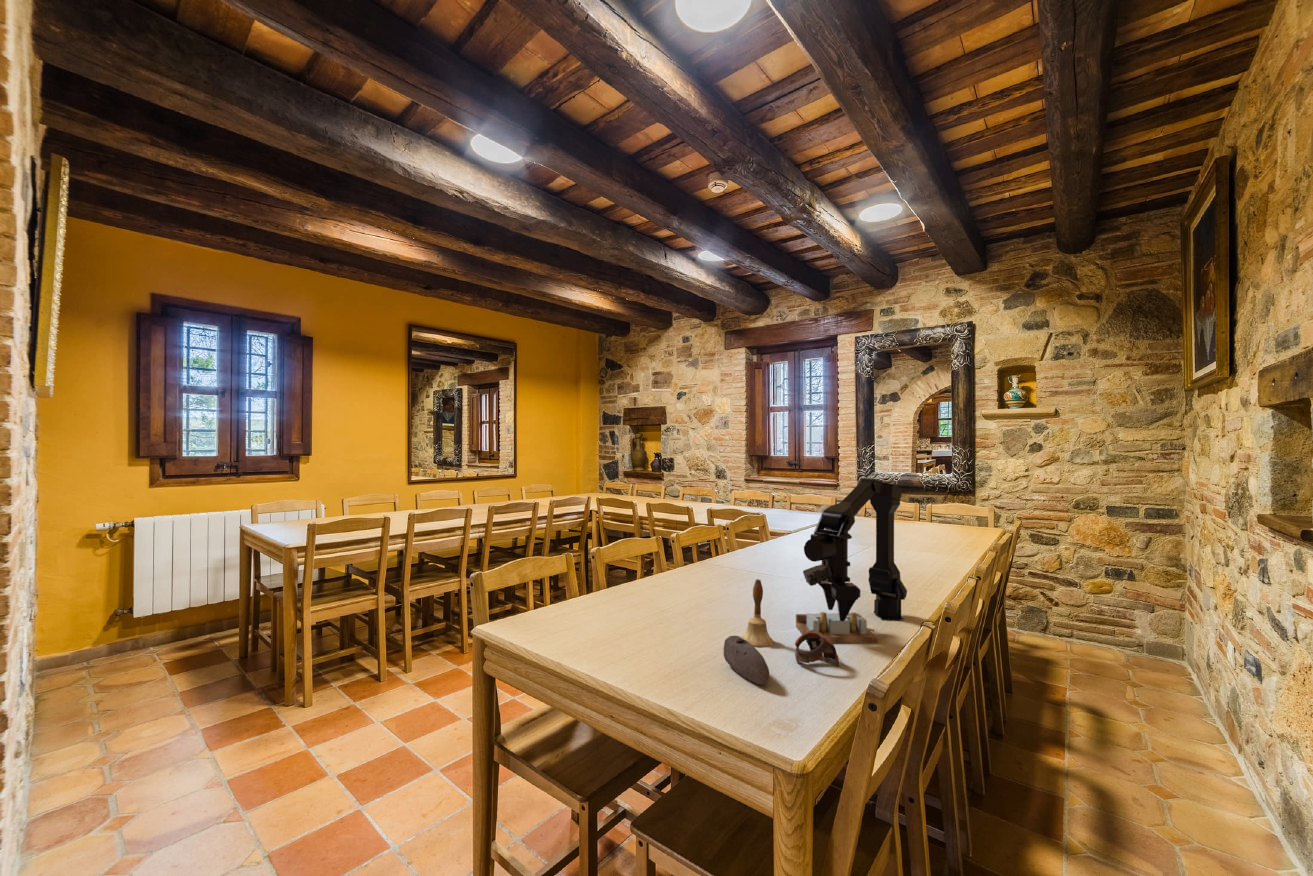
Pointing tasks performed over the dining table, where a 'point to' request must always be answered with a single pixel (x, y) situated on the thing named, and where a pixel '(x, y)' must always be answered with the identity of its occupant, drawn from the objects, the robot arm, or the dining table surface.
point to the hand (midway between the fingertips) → (836, 615)
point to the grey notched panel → (835, 623)
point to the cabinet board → (837, 638)
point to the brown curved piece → (815, 648)
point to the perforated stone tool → (746, 660)
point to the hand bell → (757, 621)
